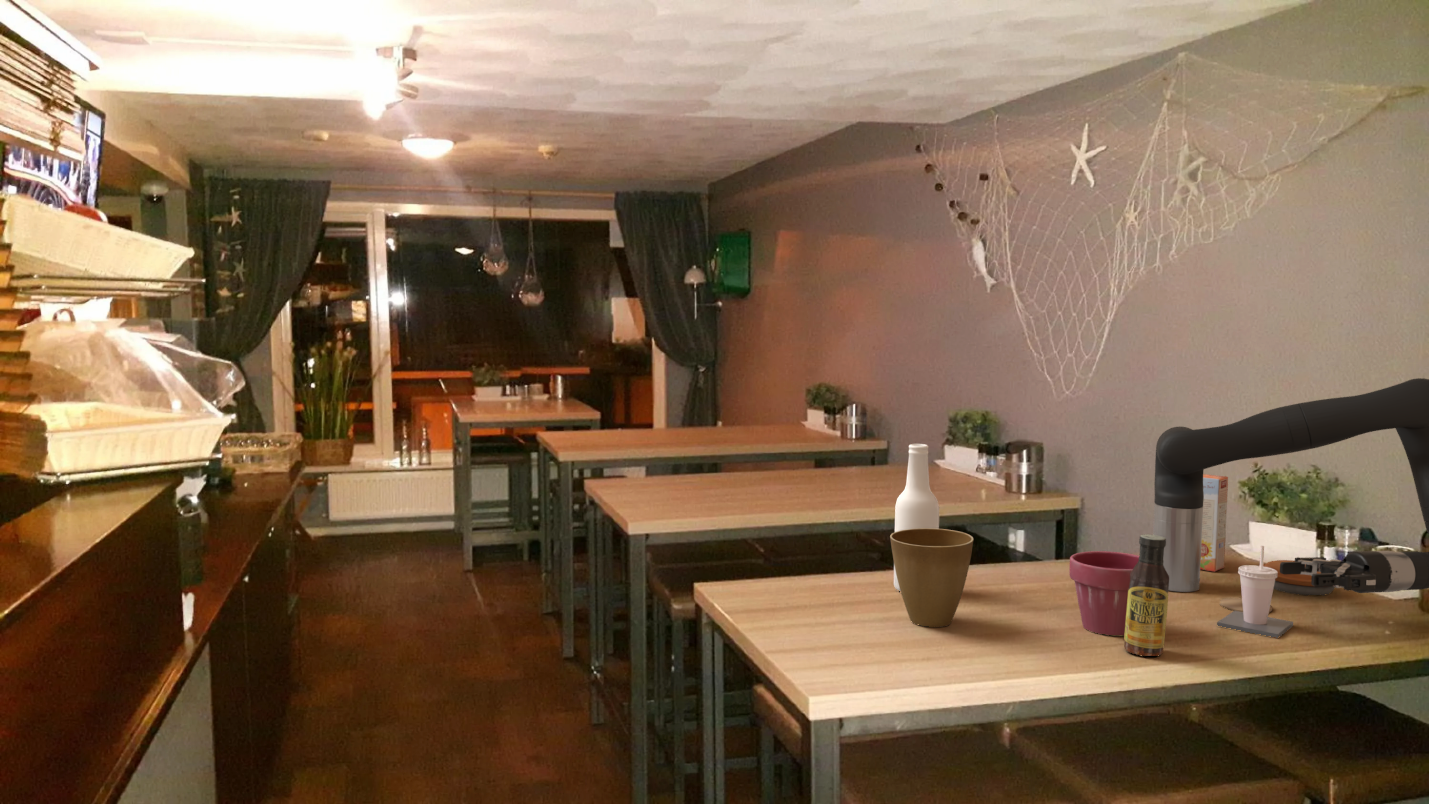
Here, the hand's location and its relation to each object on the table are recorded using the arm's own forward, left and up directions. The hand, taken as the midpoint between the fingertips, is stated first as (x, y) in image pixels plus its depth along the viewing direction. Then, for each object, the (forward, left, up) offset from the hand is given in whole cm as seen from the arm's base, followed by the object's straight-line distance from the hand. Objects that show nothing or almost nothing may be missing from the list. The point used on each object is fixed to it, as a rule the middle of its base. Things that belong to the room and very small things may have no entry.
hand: (1296, 574), depth 187 cm
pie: (-11, +27, -10) cm, 31 cm away
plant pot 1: (-41, -53, -10) cm, 67 cm away
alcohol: (-57, -39, -10) cm, 69 cm away
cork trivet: (-11, +4, -9) cm, 15 cm away
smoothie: (-4, -6, -9) cm, 12 cm away
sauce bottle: (-8, -37, -10) cm, 39 cm away
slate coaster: (-4, -7, -9) cm, 12 cm away
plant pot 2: (-19, -30, -10) cm, 36 cm away
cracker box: (-35, +27, -10) cm, 45 cm away
